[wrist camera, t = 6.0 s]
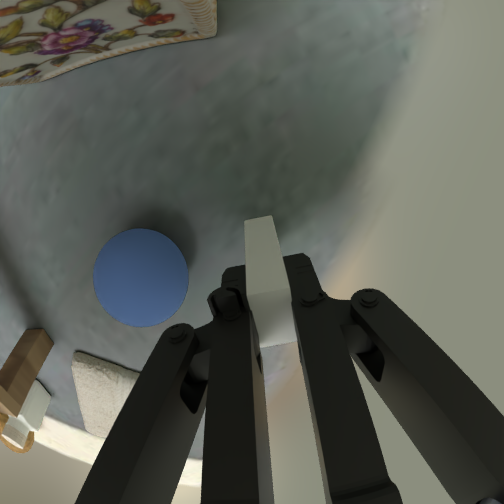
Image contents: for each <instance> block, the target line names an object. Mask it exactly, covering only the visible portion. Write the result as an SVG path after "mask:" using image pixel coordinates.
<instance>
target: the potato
mask: <svg viewBox="0 0 504 504" xmlns="http://www.w3.org/2000/svg"><path fill="white" fill-rule="evenodd" d="M8 419H9V416H8V415H7V414H4V413H1V412H0V440H1V441H2V442H3V443H4V444H5V445H6V446H7V447H8V448H10V449H11V450H12V451H14V452H17V453H25V452H28V451H29V450H30V449H31V446H32V445H33V442H34V431H29V433H28V436H27V439H26V442H25V445H24V448H23V449H21V448H18V447H16V446H15V445H13V444H12V443H10V442H9V441H7V440H6V439H5V438H4V437H3V436H2V432H3V430H4V427H5V424H6V423H7V421H8Z"/></svg>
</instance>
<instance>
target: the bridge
mask: <svg viewBox="0 0 504 504" xmlns="http://www.w3.org/2000/svg"><path fill="white" fill-rule="evenodd" d="M53 345H54V343H53V342H52V341H51V339H50V338H49V336H48V335H47V333H46V332H45V331H44V329H31V330H25V332H24V333H23V335H22V336H21V338H20V339H19V341H18V343H17V344H16V346H15V347H14V349H13V350H12V352H11V354H10V355H9V357H8V359H7V360H6V362H5V364H4V365H3V367H2V369H1V370H0V412H1V413H4V414H7V415H10V416H13V417H16V418H17V417H18V415H19V412H20V410H21V408H22V406H23V403H24V401H25V399H26V397H27V395H28V393H29V391H30V389H31V387H32V384H33V382H34V380H35V378H36V376H37V375H38V373H39V371H40V369H41V367H42V365H43V363H44V361H45V359H46V357H47V356H48V354H49V352H50V350H51V348H52V347H53Z"/></svg>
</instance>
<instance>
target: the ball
mask: <svg viewBox="0 0 504 504" xmlns="http://www.w3.org/2000/svg"><path fill="white" fill-rule="evenodd" d="M93 282H94V289H95V292H96V295H97V298H98V300H99V302H100V303H101V305H102V306H103V308H104V309H105V310H106V311H107V312H108V313H109V314H110V315H111V316H112V317H113V318H115V319H116V320H118V321H120V322H122V323H124V324H126V325H130V326H134V327H149V326H153V325H157V324H159V323H162V322H164V321H165V320H167V319H168V318H170V317H171V316H172V315H173V314H174V313H175V312H176V311H177V310H178V309H179V307H180V306H181V304H182V302H183V300H184V298H185V295H186V293H187V288H188V268H187V265H186V261H185V259H184V257H183V255H182V253H181V251H180V250H179V248H178V247H177V246H176V245H175V244H174V242H173V241H171V240H170V239H169V238H168V237H166V236H165V235H163V234H161V233H159V232H157V231H154V230H150V229H142V228H138V229H130V230H127V231H124V232H121V233H119V234H117V235H116V236H114V237H113V238H111V239H110V240H109V241H108V242H107V243H106V244H105V245H104V246H103V248H102V249H101V251H100V252H99V254H98V257H97V259H96V262H95V265H94V272H93Z"/></svg>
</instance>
